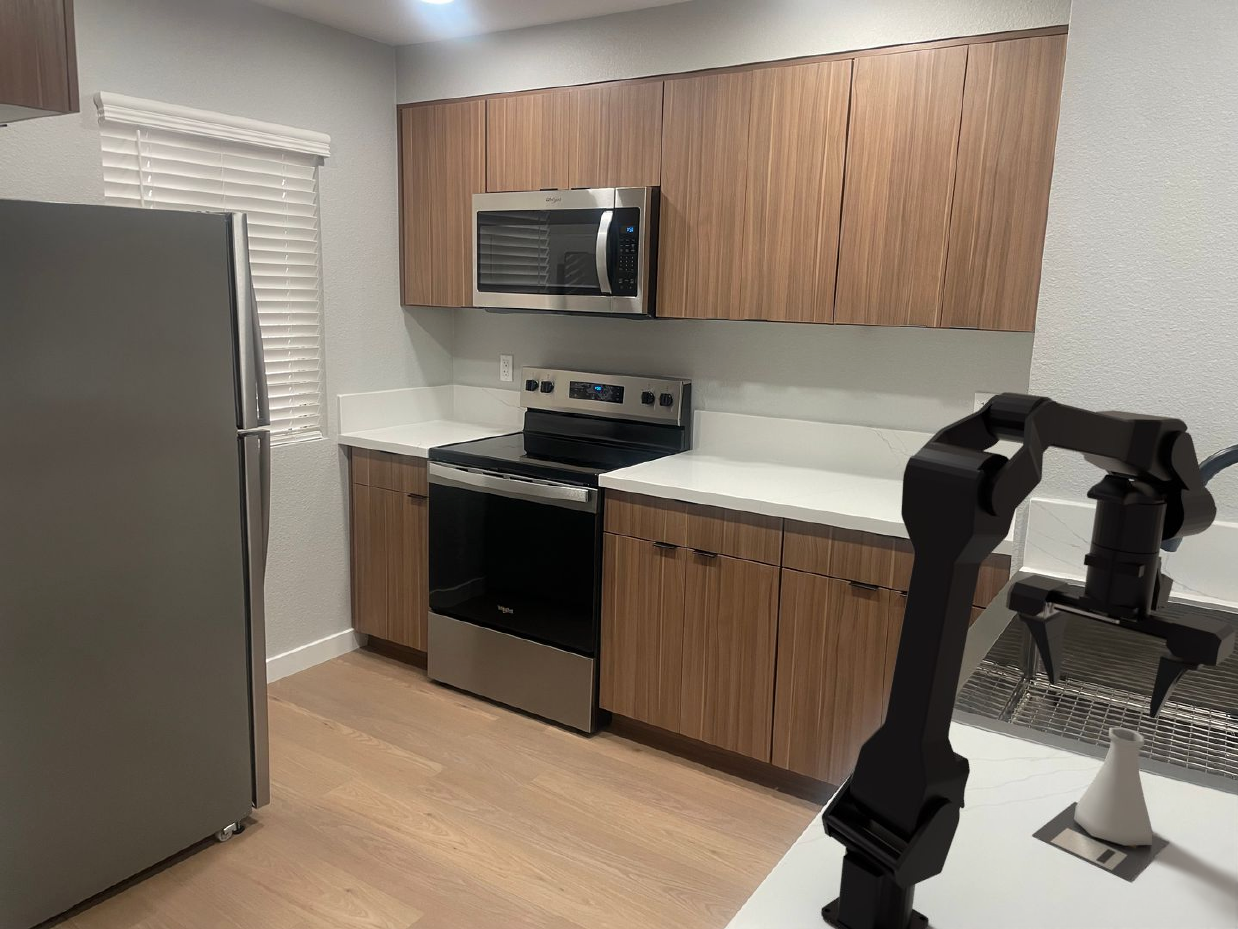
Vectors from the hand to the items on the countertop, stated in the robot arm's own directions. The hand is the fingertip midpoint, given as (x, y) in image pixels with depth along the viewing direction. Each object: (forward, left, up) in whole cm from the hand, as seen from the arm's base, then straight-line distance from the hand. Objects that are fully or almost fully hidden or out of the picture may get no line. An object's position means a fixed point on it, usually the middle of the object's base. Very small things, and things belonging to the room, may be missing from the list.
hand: (1102, 700), depth 89 cm
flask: (+2, -2, -14) cm, 14 cm away
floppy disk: (-1, -2, -14) cm, 14 cm away
